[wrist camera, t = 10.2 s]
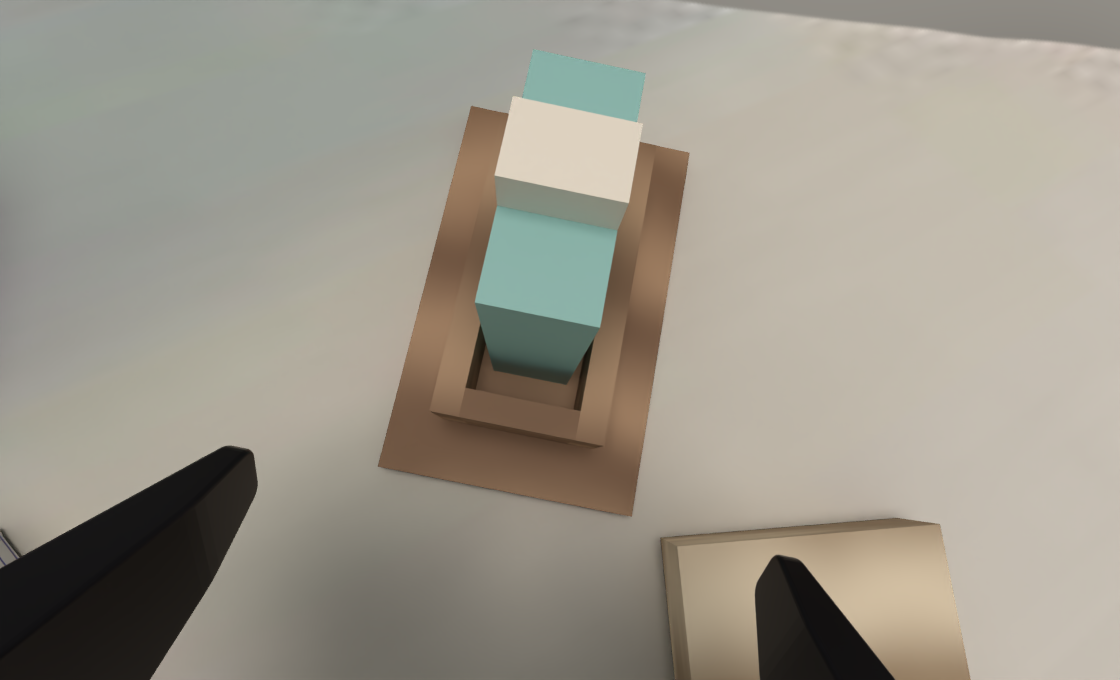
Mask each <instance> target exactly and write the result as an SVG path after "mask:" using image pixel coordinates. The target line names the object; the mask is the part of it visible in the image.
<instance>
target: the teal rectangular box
mask: <svg viewBox="0 0 1120 680" xmlns="http://www.w3.org/2000/svg"><path fill="white" fill-rule="evenodd" d="M645 74H646V73H642V72H637V71H633V70H628V69H623V68H619V67H614V66H609V65H605V64H600V63H595V62H590V61H586V60H581V59H576V58H572V57H567V56H562V55H558V54H553V53H548V52H544V51H539V50H534V49H533V53H532V57H531V62H530V66H529V70H528V74H527V79H526V83H525V87H524V92H523V96H522V98H520V97H515V96H513V99H512V103H511V107H510V112H509V116H508V120H507V124H506V128H505V133H504V137H503V141H502V145H501V150H500V154H499V158H498V162H497V167H496V171H495V175H494V176H495V188H496V199H497V208H496V212H495V217H494V221H493V225H492V230H491V234H490V238H489V243H488V247H487V251H486V255H485V260H484V264H483V268H482V273H481V277H480V281H479V286H478V290H477V294H476V299H475V306H476V309H477V313H478V316H479V320H480V324H481V327H482V331H483V334H484V338H485V341H486V345H487V349H488V352H489V356H490V359H491V363H492V367H493V370H494V371H499V372H504V373H509V374H514V375H519V376H524V377H529V378H534V379H539V380H544V381H549V382H554V383H559V384H564V385H567V383H568V381H569V380H570V378H571V376H572V375H573V373H574V371H575V369H576V368H577V366H578V364H579V363H580V361H581V359H582V358H583V356H584V354H585V352H586V351H587V349H588V347H589V346H590V344H591V342H592V341H593V339H594V337H595V335H596V334H597V332H598V330H599V329H600V325H601V320H602V314H603V308H604V303H605V297H606V292H607V286H608V281H609V275H610V269H611V264H612V258H613V253H614V247H615V241H616V236H617V230H618V228H619V226H620V223H621V221H622V218H623V216H624V214H625V211H626V209H627V206H628V204H629V200H630V194H631V188H632V182H633V177H634V171H635V165H636V160H637V154H638V148H639V143H640V137H641V131H642V126H643V123H638V122H637V119H638V113H639V108H640V102H641V96H642V91H643V85H644V80H645Z"/></svg>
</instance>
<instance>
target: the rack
mask: <svg viewBox="0 0 1120 680" xmlns="http://www.w3.org/2000/svg"><path fill="white" fill-rule="evenodd" d="M508 116H509V114H507V113H503V112H502V113H501V112H497V111H492V110H487V109H483V108H478V107H473V106H471V109H470V113H469V117H468V121H467V125H466V128H465V132H464V136H463V140H462V144H461V148H460V152H459V155H458V159H457V163H456V167H455V171H454V175H453V179H452V182H451V186H450V190H449V194H448V198H447V202H446V206H445V210H444V213H443V217H442V221H441V225H440V229H439V233H438V237H437V240H436V244H435V248H434V252H433V256H432V260H431V264H430V267H429V271H428V275H427V279H426V283H425V287H424V291H423V294H422V298H421V302H420V306H419V310H418V314H417V318H416V321H415V325H414V329H413V333H412V337H411V341H410V345H409V348H408V352H407V356H406V360H405V364H404V368H403V372H402V375H401V379H400V383H399V387H398V391H397V395H396V399H395V402H394V406H393V410H392V414H391V418H390V422H389V426H388V429H387V433H386V437H385V441H384V445H383V449H382V453H381V456H380V460H379V464H378V467H383V468H388V469H394V470H399V471H404V472H409V473H414V474H419V475H424V476H429V477H434V478H439V479H444V480H449V481H454V482H459V483H464V484H469V485H474V486H479V487H485V488H490V489H495V490H500V491H505V492H510V493H515V494H520V495H525V496H530V497H535V498H540V499H545V500H550V501H555V502H560V503H565V504H570V505H575V506H581V507H586V508H591V509H596V510H601V511H606V512H611V513H616V514H621V515H626V516H631V517H632V511H633V504H634V498H635V492H636V486H637V479H638V473H639V467H640V460H641V454H642V448H643V442H644V435H645V429H646V423H647V417H648V410H649V404H650V398H651V391H652V385H653V379H654V373H655V366H656V360H657V354H658V347H659V341H660V335H661V329H662V322H663V316H664V310H665V303H666V297H667V291H668V285H669V278H670V272H671V266H672V260H673V253H674V247H675V241H676V234H677V228H678V222H679V216H680V209H681V203H682V197H683V190H684V184H685V178H686V172H687V165H688V159H689V153H688V152H683V151H678V150H674V149H669V148H664V147H660V146H656V145H651V144H647V143H642V142H640V143H639V148H638V154H637V160H636V165H635V171H634V177H633V182H632V188H631V194H630V200H629V204H628V206H627V209H626V211H625V214H624V216H623V218H622V221H621V223H620V226H619V228H618V230H617V236H616V241H615V247H614V253H613V258H612V264H611V269H610V275H609V281H608V286H607V292H606V297H605V303H604V308H603V314H602V320H601V325H600V329H599V330H598V332H597V334H596V335H595V337H594V339H593V341H592V342H591V344H590V346H589V347H588V349H587V351H586V352H585V354H584V356H583V358H582V359H581V361H580V363H579V364H578V366H577V368H576V369H575V371H574V373H573V375H572V376H571V378H570V380H569V381H568V383H567V385H564V384H559V383H554V382H549V381H544V380H539V379H534V378H529V377H524V376H519V375H514V374H509V373H504V372H499V371H494V370H493V367H492V363H491V359H490V356H489V352H488V349H487V345H486V341H485V338H484V334H483V331H482V327H481V324H480V320H479V316H478V313H477V309H476V306H475V299H476V294H477V290H478V286H479V281H480V277H481V273H482V268H483V264H484V260H485V255H486V251H487V247H488V243H489V238H490V234H491V230H492V225H493V221H494V217H495V212H496V208H497V199H496V188H495V176H494V175H495V171H496V167H497V162H498V158H499V154H500V150H501V145H502V141H503V137H504V133H505V128H506V124H507V120H508Z"/></svg>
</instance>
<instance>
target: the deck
mask: <svg viewBox="0 0 1120 680" xmlns="http://www.w3.org/2000/svg"><path fill="white" fill-rule="evenodd" d="M661 547H662V557H663V567H664V577H665V587H666V597H667V606H668V616H669V626H670V636H671V646H672V656H673V666H674V676H675V680H760V676H759V661H758V644H757V627H756V611H755V587H756V583H757V581H758V579H759V578H760V576H761V574H762V573H763V571H764V569H765V568H766V566H767V565H768V563H769V561H770V560H771V558H772V557H773V556H775V555H784V556H789V557H794V558H797V559H799V560H800V561H802V562H803V563H804V565H805V566H806V567H807V568H808V570H809V571H810V572H811V573H812V575H813V576H814V577H815V579H816V580H817V581H818V582H819V584H820V585H821V586H822V587H823V589H824V590H825V591H826V592H827V594H828V595H829V596H830V597H831V599H832V600H833V601H834V602H835V604H836V605H837V606H838V608H839V609H840V610H841V611H842V613H843V614H844V615H845V616H846V618H847V619H848V620H849V621H850V623H851V624H852V625H853V626H854V628H855V629H856V630H857V631H858V633H859V634H860V635H861V637H862V638H863V639H864V640H865V642H866V643H867V644H868V645H869V647H870V648H871V649H872V650H873V652H874V653H875V654H876V655H877V657H878V658H879V659H880V660H881V662H882V663H883V664H884V666H885V667H886V668H887V669H888V671H889V672H890V673H891V674H892V676H893V677H894V678H895V679H896V680H970V675H969V670H968V665H967V659H966V654H965V649H964V644H963V639H962V634H961V629H960V624H959V619H958V614H957V609H956V604H955V599H954V594H953V589H952V584H951V578H950V573H949V568H948V563H947V558H946V553H945V548H944V543H943V538H942V533H941V528H940V524H935V523H928V522H921V521H914V520H907V519H900V518H892V519H880V520H868V521H856V522H844V523H832V524H820V525H808V526H796V527H784V528H772V529H760V530H748V531H736V532H724V533H712V534H700V535H688V536H676V537H664V538H661Z"/></svg>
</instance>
